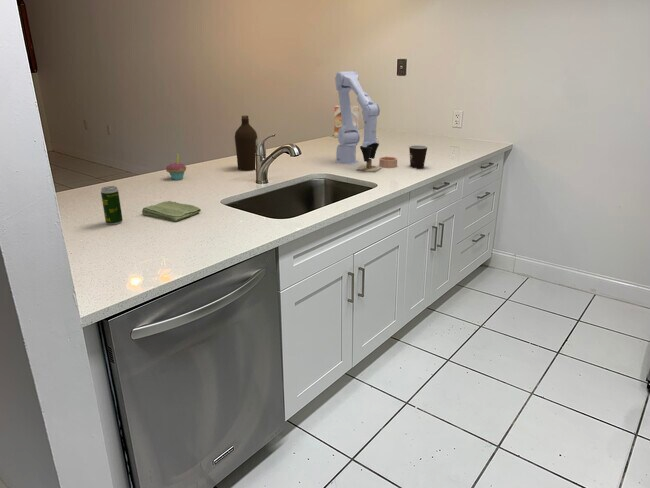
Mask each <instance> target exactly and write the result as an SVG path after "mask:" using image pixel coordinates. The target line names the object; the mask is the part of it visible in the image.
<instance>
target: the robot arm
mask: <svg viewBox="0 0 650 488" xmlns="http://www.w3.org/2000/svg"><path fill="white" fill-rule="evenodd" d="M359 77H360V76H359V74H358V71H355V70H353V71H337V72H336V74H335V77H334V80H335V82H334V83H335V87H336V91H337V94H338V100H339V106H340V110H341V117H342V125H343V126H342V127H341V128H340V129H339V131H338V137H337V141H338V143H339V144H338V145H337V146H336V150H335V151H336V153H335V154H336V158H335V159H336V160H335V163H337V164H346V165H355V164H356V163H358V162H359V160H357V159H356V158H357V155H356V154H357V146H358V144H359V143H360V141H361V135H360V133H359V127H358V128H357V127H355V126H354V125H353V121H352V113H351V106H352V105H351V100H350V99H351V98H350V92H351V91H353V92H354V93H355V95H356V101H357V103H358V105H359V106H360V108H361V109H362V110H361V114H362V120H363V123H364V125H363V141H362V145H360V146H359V148H360V151H361V153H362V157H363V161H364V162H366V163H367V162H369V159H372V160H373V159H375V157H376V154H377V153H376V152H377V150H378V148H379V146H380V143H379V140H378V138H377V124H378V123H377V122H378V121H377V120H378V117H379V115H380V112H381V111H380V109H381V108H380V106H379V104H377V103H375V102H373V100H372V98H371V97H370V95H369V93H368V92H365V91H364V90H363V88H362V86H361V84H360V82H359V80H360V79H359ZM346 131H351V132H346Z"/></svg>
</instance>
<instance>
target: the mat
mask: <svg viewBox="0 0 650 488" xmlns="http://www.w3.org/2000/svg"><path fill="white" fill-rule="evenodd" d="M382 169H383V167H379V170H378V171H373V172H372V174H373V173H374V174H376V173H377V172H379V171H380V170H382ZM355 171H357V172H362V171H361V170H359V168H357V169H355ZM363 172H364V173H365V172H366V171H363Z"/></svg>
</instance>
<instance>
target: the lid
mask: <svg viewBox="0 0 650 488" xmlns="http://www.w3.org/2000/svg"><path fill="white" fill-rule="evenodd" d="M372 162H373V159H371V158H370V159H369V162H366V165H360V166H359V167H358V169H359V170H361V171H360V172H364V171H366V172H367V173H373V171H377V172H379V171H380V170H379V168H380V166H379V167H378V166H376V165H373V163H372ZM378 170H379V171H378Z"/></svg>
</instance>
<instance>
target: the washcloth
mask: <svg viewBox="0 0 650 488" xmlns="http://www.w3.org/2000/svg"><path fill="white" fill-rule="evenodd" d="M201 211H202V210H201V208H200V207H198V206H196V205H192V204H187V203H180V202H176V201H171V200H166V201H163V202H159V203H157V204H154V205H153V204H152V205H148V206H145V207H143V208H142V210H141V213H142V214H143V216H148V217H151V218H156V219H161V220H162V219H163V220H167V221H172V222H180V221H182V220H184V219H187V218H189V217H191V216H194V215H196V214H198V213H201Z"/></svg>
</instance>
